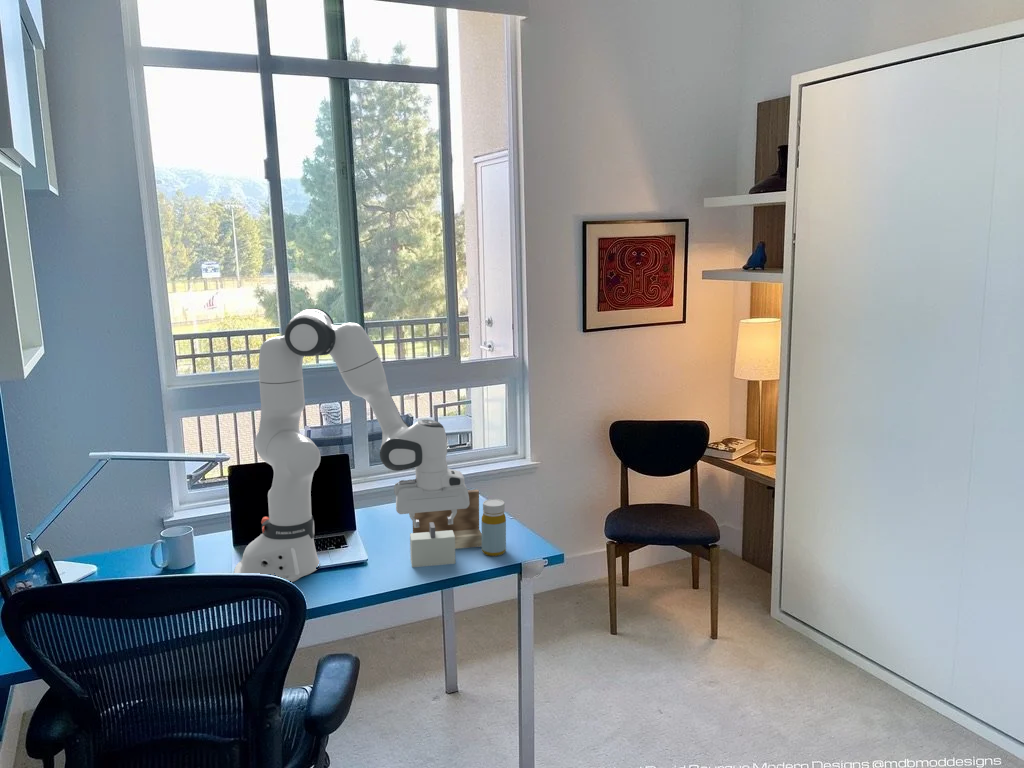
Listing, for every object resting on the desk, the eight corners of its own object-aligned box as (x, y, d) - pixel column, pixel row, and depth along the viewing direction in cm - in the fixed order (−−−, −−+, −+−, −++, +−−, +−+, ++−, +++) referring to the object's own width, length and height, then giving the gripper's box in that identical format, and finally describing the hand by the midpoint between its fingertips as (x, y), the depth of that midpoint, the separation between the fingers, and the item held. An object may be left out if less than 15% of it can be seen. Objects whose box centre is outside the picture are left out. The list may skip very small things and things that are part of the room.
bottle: (484, 558, 215) (484, 507, 212) (479, 548, 222) (479, 499, 219) (508, 555, 217) (508, 505, 214) (502, 545, 223) (502, 497, 220)
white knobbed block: (412, 567, 209) (411, 530, 207) (410, 560, 214) (409, 523, 212) (455, 563, 211) (454, 526, 209) (452, 556, 216) (452, 520, 214)
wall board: (416, 551, 219) (415, 506, 216) (412, 537, 229) (411, 493, 226) (484, 546, 223) (484, 501, 220) (478, 532, 233) (477, 489, 230)
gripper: (394, 484, 203) (396, 533, 205) (469, 478, 207) (471, 526, 210) (392, 477, 209) (395, 524, 211) (466, 471, 213) (467, 517, 216)
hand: (433, 525), depth 211 cm, fingers open, 8 cm apart
